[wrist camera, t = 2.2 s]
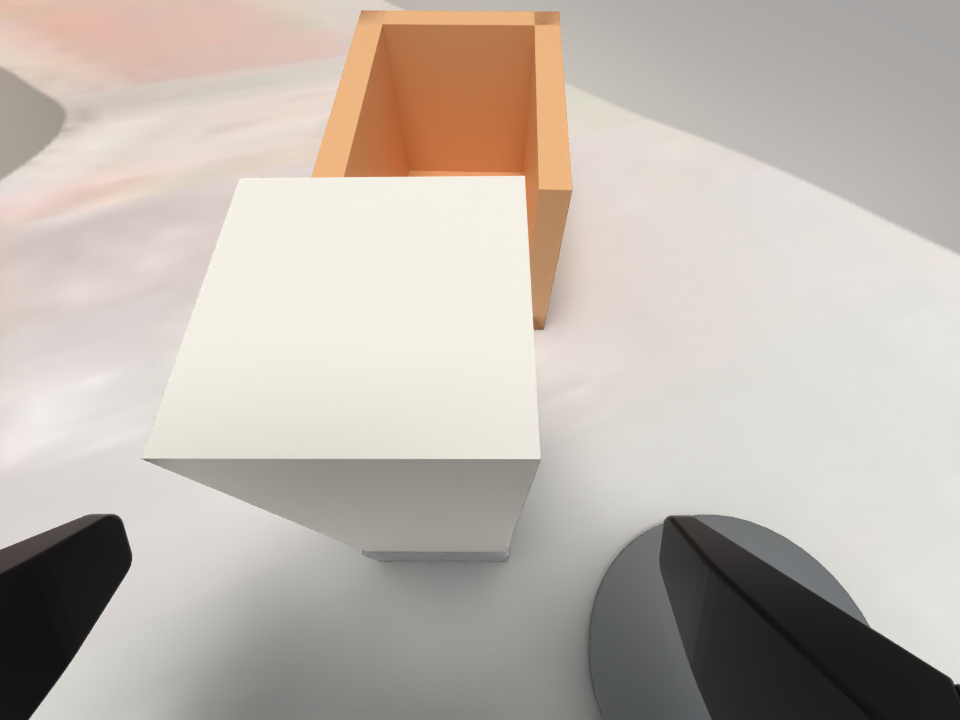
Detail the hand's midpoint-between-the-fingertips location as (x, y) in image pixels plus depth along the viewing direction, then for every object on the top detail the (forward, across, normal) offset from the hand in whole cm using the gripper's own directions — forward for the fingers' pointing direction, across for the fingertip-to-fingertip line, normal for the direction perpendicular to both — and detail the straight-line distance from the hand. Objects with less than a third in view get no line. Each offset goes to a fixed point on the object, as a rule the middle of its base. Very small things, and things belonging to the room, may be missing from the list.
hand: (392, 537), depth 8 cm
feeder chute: (+18, 0, -4) cm, 18 cm away
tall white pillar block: (+9, 0, +5) cm, 10 cm away
